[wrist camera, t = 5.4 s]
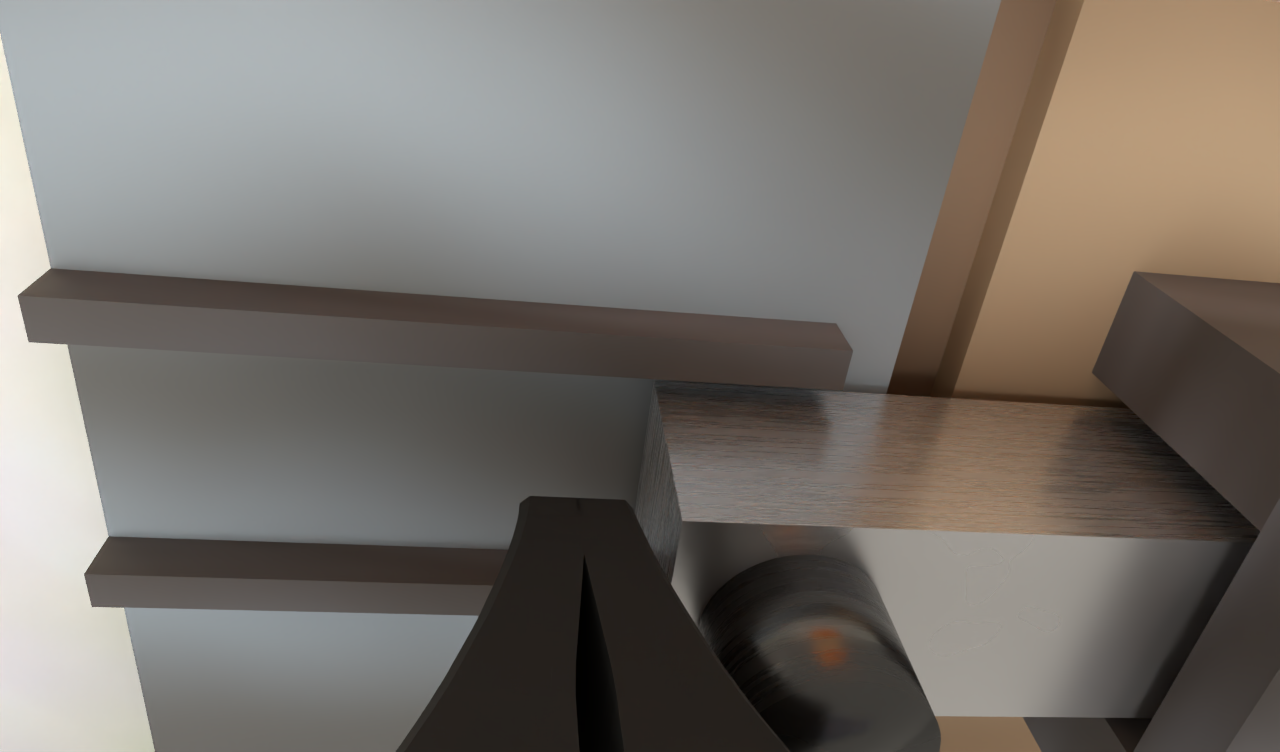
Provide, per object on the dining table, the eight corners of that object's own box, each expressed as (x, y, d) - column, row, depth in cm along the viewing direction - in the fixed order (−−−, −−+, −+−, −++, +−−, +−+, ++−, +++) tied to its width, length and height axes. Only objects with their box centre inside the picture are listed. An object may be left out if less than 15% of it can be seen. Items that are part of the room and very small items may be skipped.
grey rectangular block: (1168, 569, 15) (1409, 844, 11) (628, 551, 14) (663, 853, 9) (1250, 416, 13) (1563, 665, 9) (654, 380, 12) (708, 648, 8)
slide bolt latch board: (1241, 707, 20) (1497, 1020, 15) (191, 696, 17) (26, 1083, 12) (1666, 48, 13) (2437, 176, 8) (37, -165, 10) (-534, -194, 5)
